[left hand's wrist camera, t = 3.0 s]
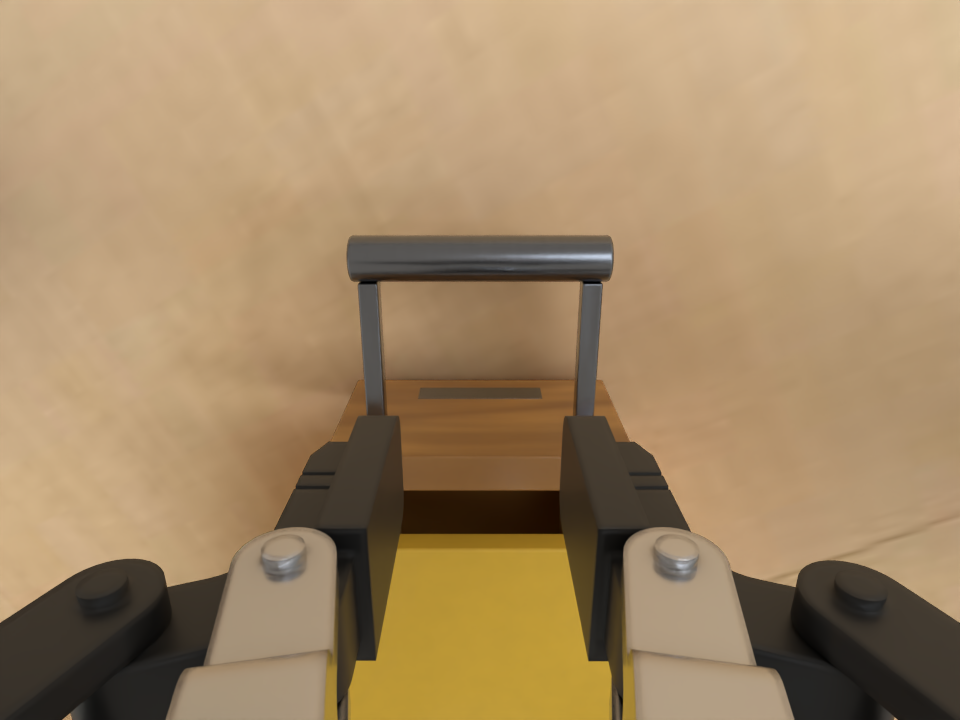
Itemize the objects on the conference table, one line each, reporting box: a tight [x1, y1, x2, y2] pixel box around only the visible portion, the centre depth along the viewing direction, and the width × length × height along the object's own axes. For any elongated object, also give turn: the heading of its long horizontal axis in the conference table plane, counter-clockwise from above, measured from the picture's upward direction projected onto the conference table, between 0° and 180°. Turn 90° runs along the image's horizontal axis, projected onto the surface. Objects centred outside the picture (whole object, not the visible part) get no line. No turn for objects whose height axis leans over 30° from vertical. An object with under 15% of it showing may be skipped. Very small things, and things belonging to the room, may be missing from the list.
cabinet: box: [349, 534, 612, 720], centre depth 26 cm, size 19×10×8 cm, turn 0°
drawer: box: [331, 235, 630, 534], centre depth 24 cm, size 24×9×6 cm, turn 0°
